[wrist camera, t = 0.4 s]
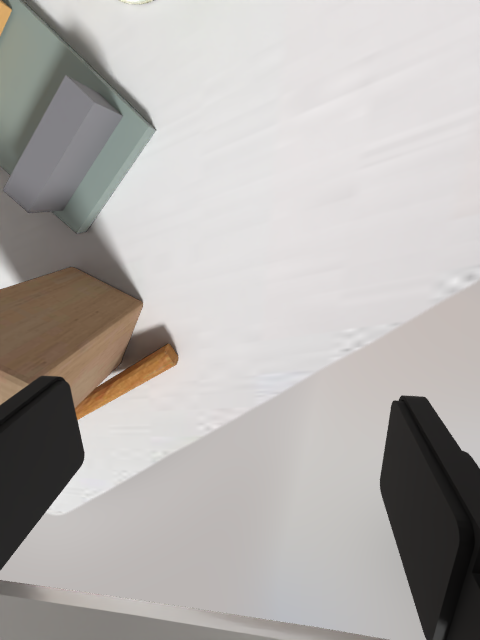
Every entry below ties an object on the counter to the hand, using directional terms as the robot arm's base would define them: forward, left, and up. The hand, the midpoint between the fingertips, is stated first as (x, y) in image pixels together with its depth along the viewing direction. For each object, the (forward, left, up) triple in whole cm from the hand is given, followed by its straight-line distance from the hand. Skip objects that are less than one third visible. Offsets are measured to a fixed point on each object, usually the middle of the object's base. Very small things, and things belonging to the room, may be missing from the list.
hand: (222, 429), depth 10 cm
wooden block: (+21, -11, -31) cm, 39 cm away
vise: (+6, -33, -30) cm, 45 cm away
